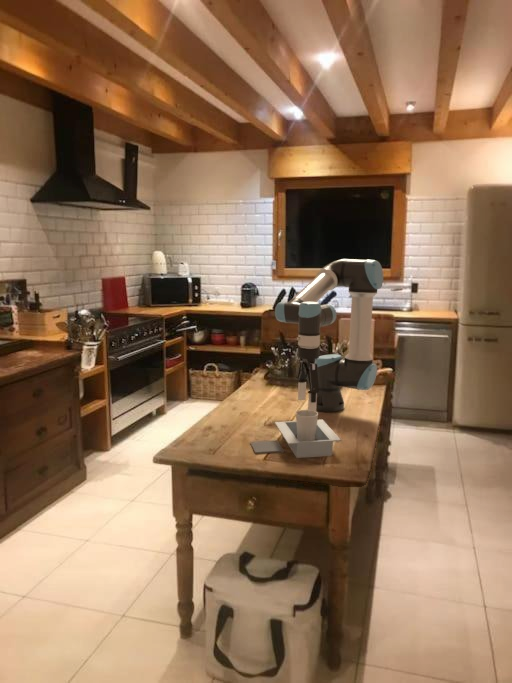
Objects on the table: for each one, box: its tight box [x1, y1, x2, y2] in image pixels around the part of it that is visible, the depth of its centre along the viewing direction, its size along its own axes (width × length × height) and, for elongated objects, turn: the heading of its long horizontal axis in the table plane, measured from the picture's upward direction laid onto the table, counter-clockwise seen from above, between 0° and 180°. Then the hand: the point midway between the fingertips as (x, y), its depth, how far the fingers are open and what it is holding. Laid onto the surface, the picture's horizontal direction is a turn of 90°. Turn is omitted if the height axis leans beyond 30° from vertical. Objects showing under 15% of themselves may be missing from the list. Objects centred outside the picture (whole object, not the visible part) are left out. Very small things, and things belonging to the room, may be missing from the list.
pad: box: [250, 439, 284, 455], centre depth 198 cm, size 10×10×1 cm
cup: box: [295, 409, 319, 442], centre depth 199 cm, size 8×8×12 cm
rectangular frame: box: [274, 419, 342, 459], centre depth 200 cm, size 19×22×6 cm
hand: (306, 405), depth 197 cm, fingers open, 13 cm apart
